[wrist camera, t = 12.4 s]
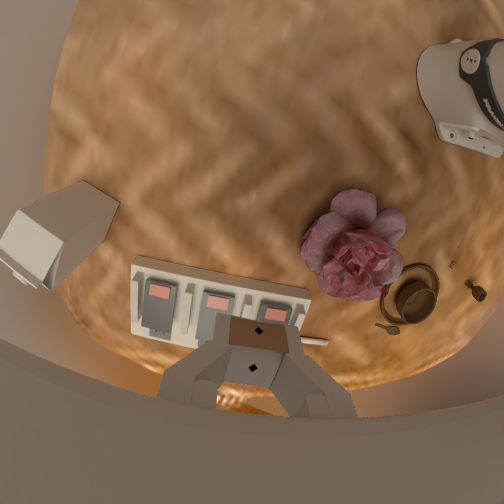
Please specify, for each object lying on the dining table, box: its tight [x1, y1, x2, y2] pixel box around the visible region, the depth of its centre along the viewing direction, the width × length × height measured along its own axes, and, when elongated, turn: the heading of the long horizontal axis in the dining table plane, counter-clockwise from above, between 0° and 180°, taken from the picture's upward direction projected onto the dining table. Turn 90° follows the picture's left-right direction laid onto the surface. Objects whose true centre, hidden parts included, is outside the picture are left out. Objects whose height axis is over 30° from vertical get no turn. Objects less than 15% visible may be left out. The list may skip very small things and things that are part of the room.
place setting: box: [375, 261, 487, 335], centre depth 43 cm, size 18×20×6 cm
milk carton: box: [0, 181, 119, 291], centre depth 29 cm, size 7×7×19 cm
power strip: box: [131, 255, 329, 349], centre depth 43 cm, size 33×13×6 cm, turn 77°
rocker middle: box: [195, 290, 235, 341], centre depth 40 cm, size 4×7×2 cm, turn 167°
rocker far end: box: [141, 278, 178, 333], centre depth 39 cm, size 4×7×2 cm, turn 167°
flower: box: [300, 189, 407, 301], centre depth 36 cm, size 15×15×10 cm
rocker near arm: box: [256, 301, 293, 325], centre depth 40 cm, size 4×7×2 cm, turn 167°
